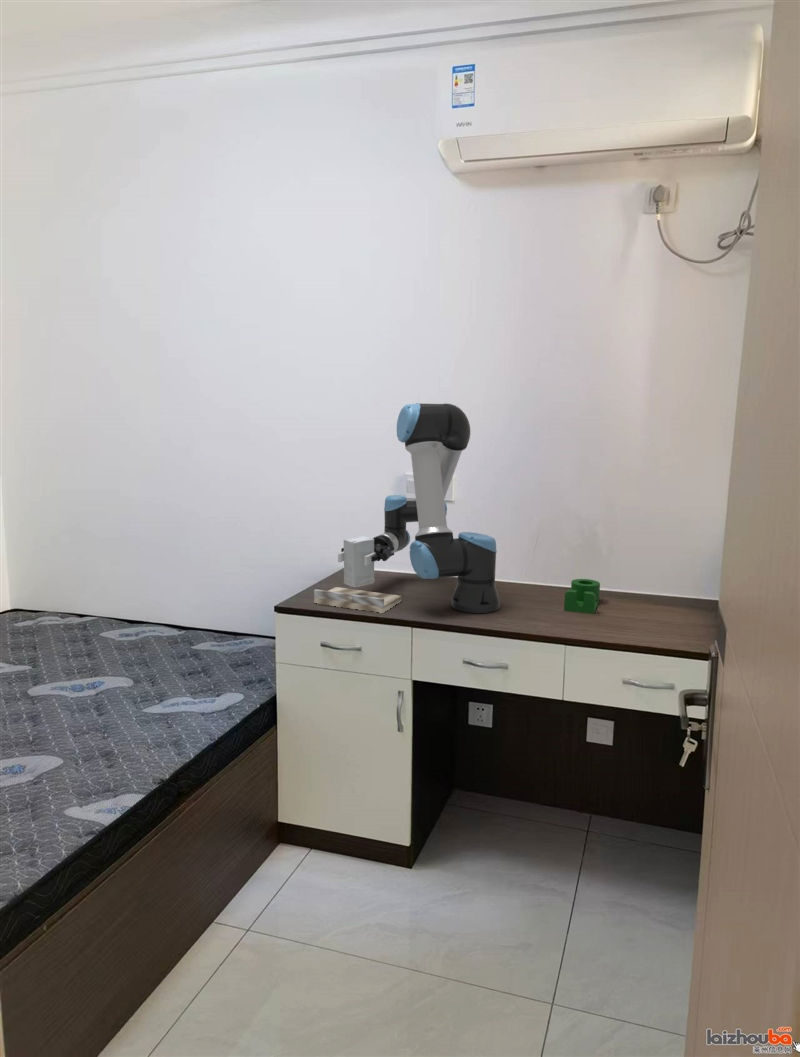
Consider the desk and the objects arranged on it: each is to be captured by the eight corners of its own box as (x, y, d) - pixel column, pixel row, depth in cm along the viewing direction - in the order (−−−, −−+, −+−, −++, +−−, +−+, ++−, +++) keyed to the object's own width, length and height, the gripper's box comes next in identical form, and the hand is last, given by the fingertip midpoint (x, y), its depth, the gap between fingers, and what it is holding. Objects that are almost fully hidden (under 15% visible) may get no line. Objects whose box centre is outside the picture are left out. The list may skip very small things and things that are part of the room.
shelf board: (401, 601, 244) (401, 588, 243) (382, 613, 231) (382, 599, 230) (335, 592, 253) (335, 580, 252) (313, 603, 240) (313, 590, 240)
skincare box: (363, 580, 247) (363, 535, 244) (375, 584, 242) (375, 538, 239) (342, 584, 241) (342, 538, 238) (354, 588, 237) (353, 541, 234)
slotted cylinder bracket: (572, 596, 253) (573, 577, 252) (600, 599, 250) (601, 580, 248) (563, 611, 236) (565, 591, 235) (593, 614, 233) (594, 594, 232)
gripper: (412, 559, 253) (383, 575, 232) (355, 553, 261) (322, 567, 241) (412, 537, 251) (383, 551, 231) (355, 532, 260) (322, 544, 239)
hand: (352, 559), depth 236 cm, fingers closed on skincare box, 8 cm apart
